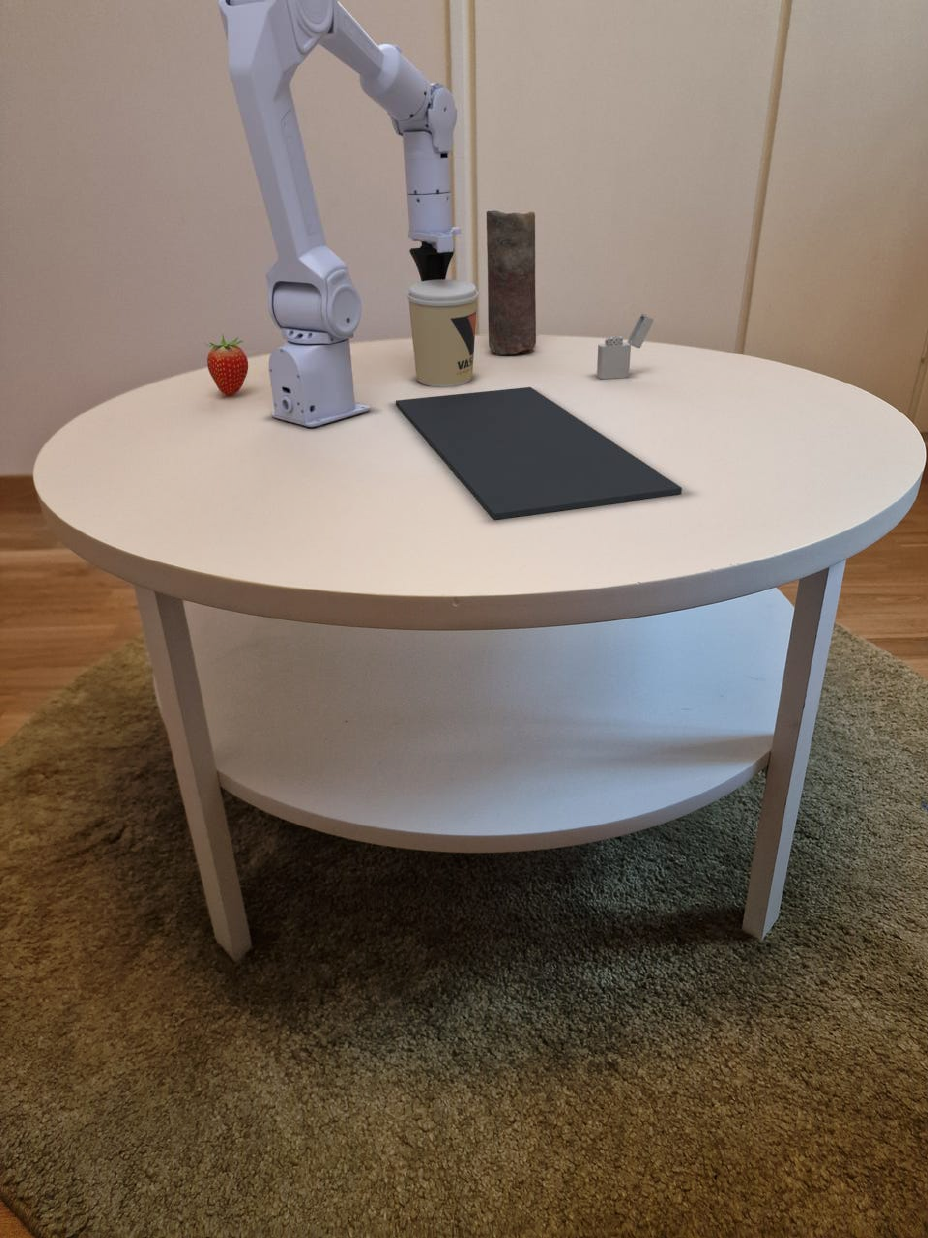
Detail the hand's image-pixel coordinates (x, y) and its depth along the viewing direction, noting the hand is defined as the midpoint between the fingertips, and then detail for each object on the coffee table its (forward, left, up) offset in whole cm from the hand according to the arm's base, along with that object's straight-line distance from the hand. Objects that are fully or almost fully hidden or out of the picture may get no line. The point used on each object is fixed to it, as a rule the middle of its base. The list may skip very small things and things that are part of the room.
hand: (434, 302), depth 117 cm
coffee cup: (-2, -4, -9) cm, 10 cm away
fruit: (-25, +14, -10) cm, 30 cm away
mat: (-18, -29, -10) cm, 36 cm away
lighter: (+14, -22, -10) cm, 28 cm away
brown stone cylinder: (+18, +1, -10) cm, 20 cm away
